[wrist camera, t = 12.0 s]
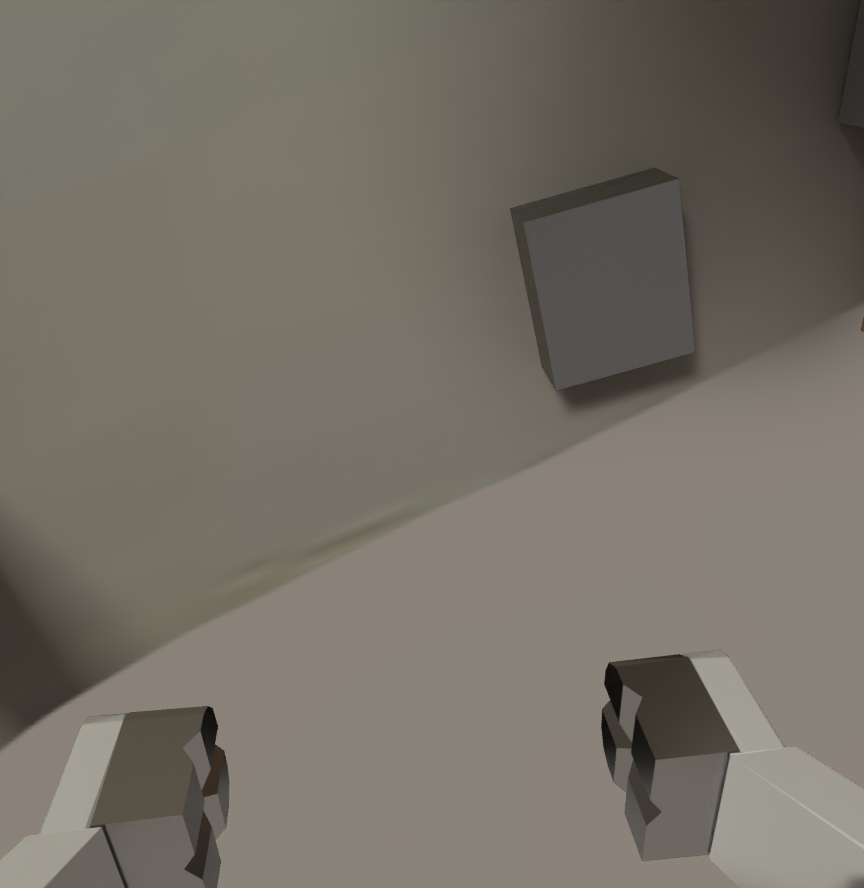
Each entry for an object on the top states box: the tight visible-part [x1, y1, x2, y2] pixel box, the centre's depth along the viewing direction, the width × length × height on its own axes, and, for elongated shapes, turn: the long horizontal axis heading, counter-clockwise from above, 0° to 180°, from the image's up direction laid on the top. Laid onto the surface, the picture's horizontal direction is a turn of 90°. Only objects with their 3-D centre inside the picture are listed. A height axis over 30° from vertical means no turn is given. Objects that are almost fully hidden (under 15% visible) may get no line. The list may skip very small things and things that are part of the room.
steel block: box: [510, 168, 695, 391], centre depth 27 cm, size 6×5×2 cm
